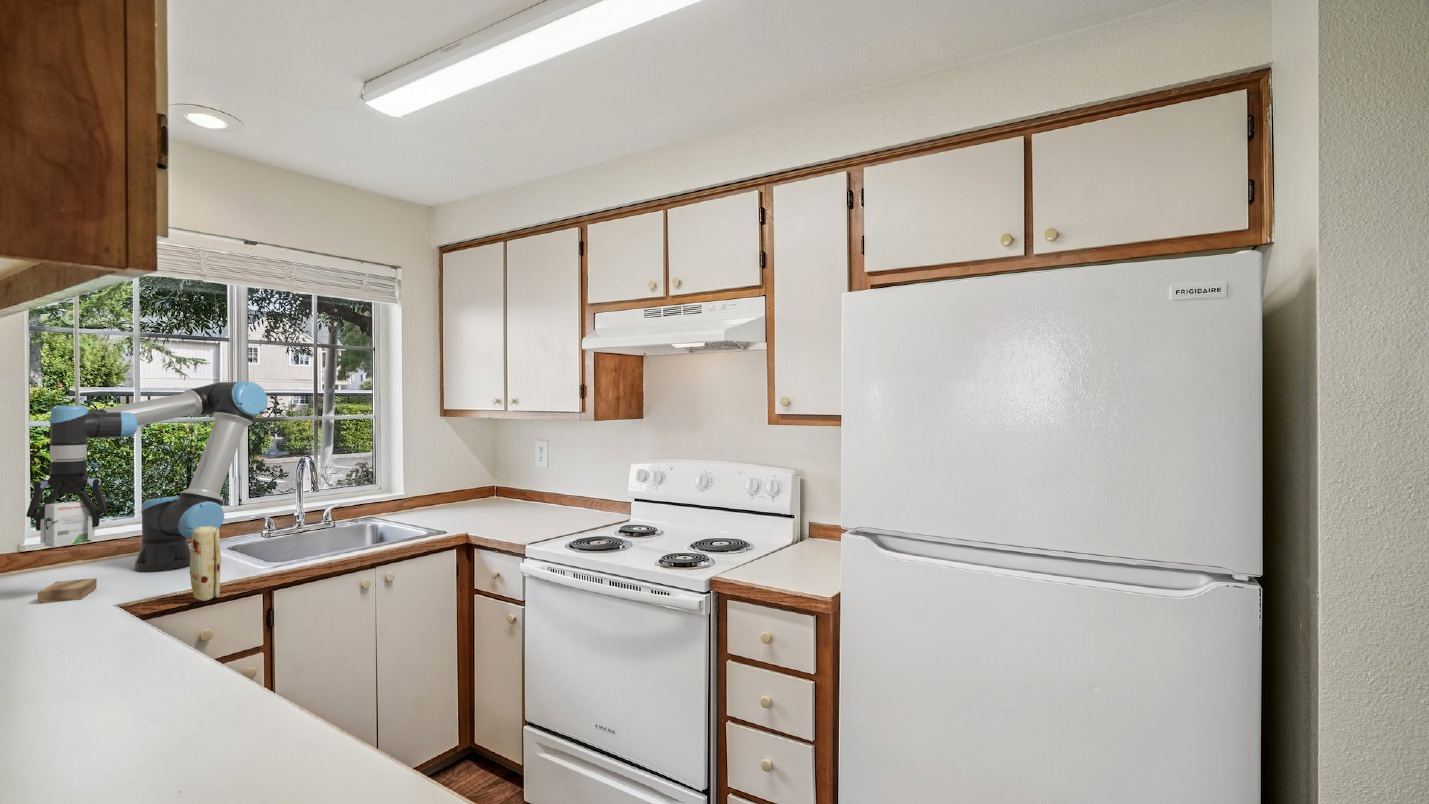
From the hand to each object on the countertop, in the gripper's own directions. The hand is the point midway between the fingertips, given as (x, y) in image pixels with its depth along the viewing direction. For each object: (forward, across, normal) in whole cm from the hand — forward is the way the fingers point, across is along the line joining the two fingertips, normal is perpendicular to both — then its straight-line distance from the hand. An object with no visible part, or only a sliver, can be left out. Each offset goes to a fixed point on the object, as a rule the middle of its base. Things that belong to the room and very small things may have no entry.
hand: (68, 540), depth 190 cm
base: (+16, 0, 0) cm, 16 cm away
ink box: (+1, 0, 0) cm, 1 cm away
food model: (+16, -35, +23) cm, 45 cm away
